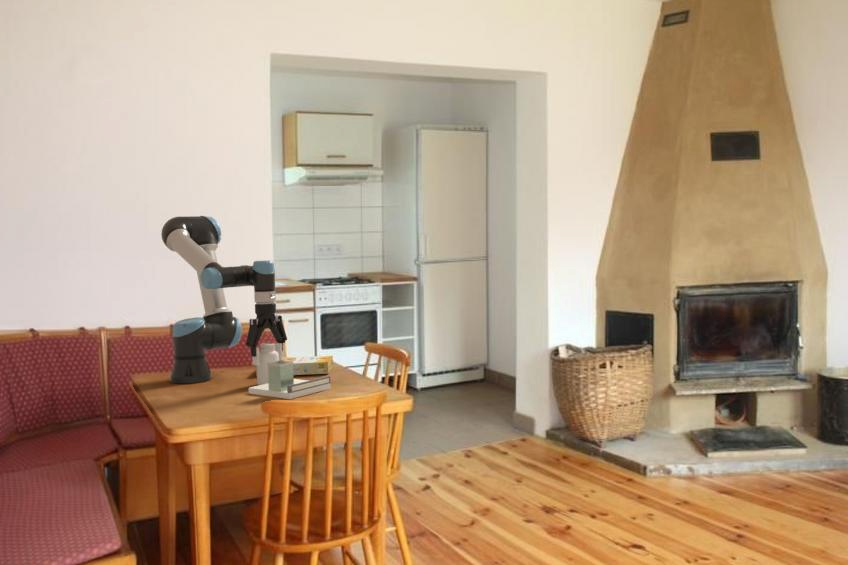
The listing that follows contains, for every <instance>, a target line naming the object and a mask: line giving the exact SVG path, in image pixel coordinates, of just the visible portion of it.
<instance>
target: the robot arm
mask: <svg viewBox="0 0 848 565" xmlns="http://www.w3.org/2000/svg"><path fill="white" fill-rule="evenodd" d="M221 236H222V230H221V227H220V224H219V222H218V221H217V220H216V219H215V218H214V217H212V216H205V215H200V216H174V217H172V218H170V219H168V220H167V221H166V222H165V223H164V225H163V227H162V228H161V240H162V242H163V244H164V245H165V246H166V247H167V248H168V250H170V251H172V252H175V253H177V254H178V255H179V257H181V258H182V259H183V260H184V261H185V262H186V263H187V264H188V265H190V267H192V268H193V270H194V271H195V272H196V274H197V281H198V285H199V288H200V289H199V290H200V293H201V299H202V302H203V303H202V304H203V307H204V309H203V310H204V314H203V316H202V317H201V316H199V317H197V316H196V317H189V318H185V319H181V320H178V321H175V323H174V324H173V325H172V326H173V327H172V338H173V339H172V340H173V357H174V362H173V364H172V365H173V366H172V368H171V369H172V370H171V374H170V376H169V377H170V383H172V384H195V383H196V384H197V383H202V382H203V383H204V382H207V381H210V380H212V371H211V369H210V366H209V364H208V361H207V358H206V357H207V356H206V355H207V354H206V351H213V350H220V349H228V348H231V347H235V346H237V344H238V343H239V342H240V340H241V337H242V331H243V330H242V322H241V321H240V320H239V318H238V317H236V316H233V312H232V311H231V309H229V308H228V307H227V301H226V297H225V291H224V289H226V288H240V287H253V289H254V291H253V293H254V295H253V296H254V303H255V304H254V312H255V315H256V318H251V319H249V328H248V332H247V333H248V334H247V337H246V342H245V347H248V348H250V357H252V358H251V360H252V361H251V362H252V366H255V367H256V366H259V352H260V350H259V349H260V346H258V344H259V342H260V339H261V338H262V334H263V332H264V331H265V330H266V329H269V330H270V332H271V334H272V335H273V337H274V340H275V341H276V342H275V343H274V344H275V349H274V351H277V352H278V354H279V361H280V360H282V361H283V359H282V358H283V352H284V344H285V343H286V341H288V337H287V333H286V331H285V327H284V323H283V316H282V315H276V313H277V304H276V303H275V302H276V274H275V273H276V272H275V263H274V261H273V260H255V261H253V263H252V265H247V264H246V265H239V266H222V265H220V264H219V262H218V259H217V253H216V250H217V249H218V248H219V245H218V244H220V242H221V240H222V237H221Z"/></svg>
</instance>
